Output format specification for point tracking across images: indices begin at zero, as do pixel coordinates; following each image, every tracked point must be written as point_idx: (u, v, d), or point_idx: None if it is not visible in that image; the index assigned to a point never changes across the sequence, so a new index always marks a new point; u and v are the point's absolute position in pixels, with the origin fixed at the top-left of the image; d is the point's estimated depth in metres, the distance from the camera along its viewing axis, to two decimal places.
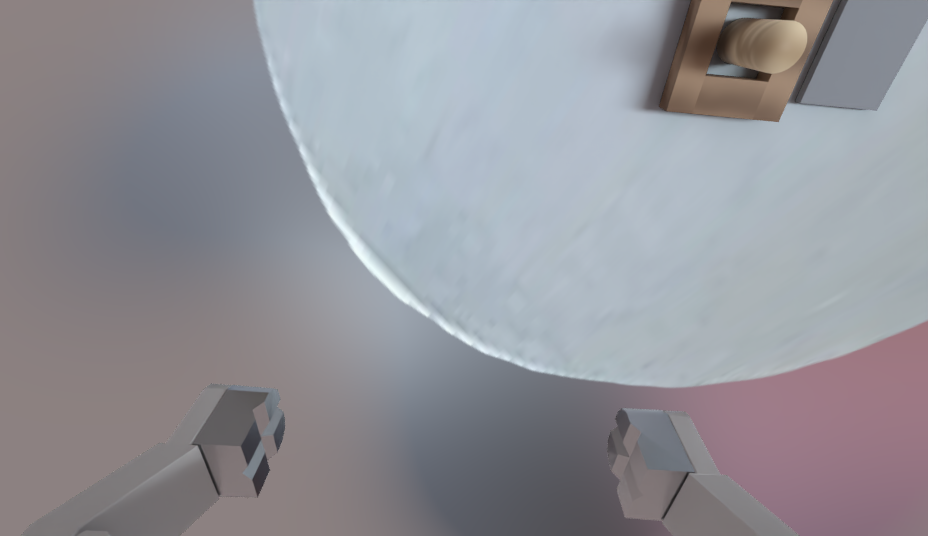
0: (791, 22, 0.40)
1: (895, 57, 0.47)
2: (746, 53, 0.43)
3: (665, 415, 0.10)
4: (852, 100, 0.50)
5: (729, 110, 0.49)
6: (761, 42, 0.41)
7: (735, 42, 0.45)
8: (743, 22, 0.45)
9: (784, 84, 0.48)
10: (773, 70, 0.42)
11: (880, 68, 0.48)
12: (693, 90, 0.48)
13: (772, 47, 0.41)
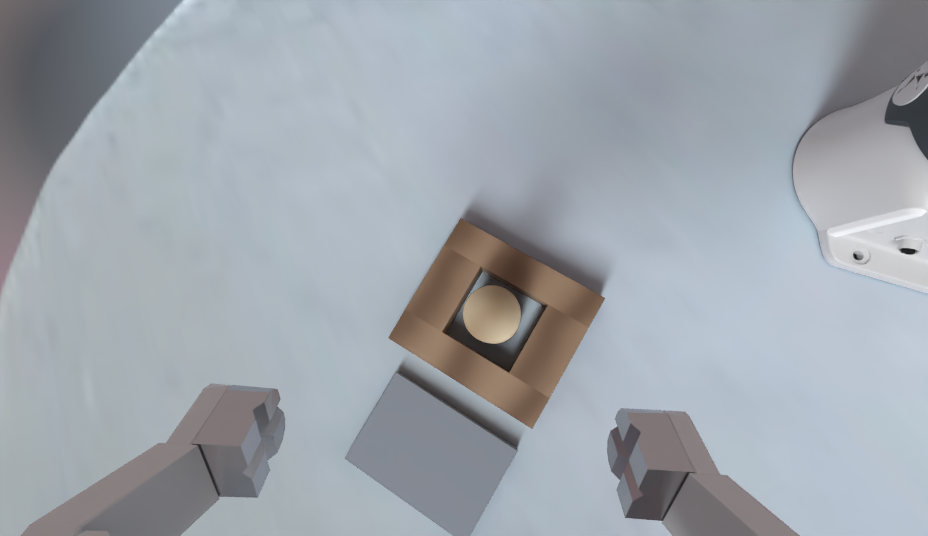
0: (516, 327, 0.33)
1: (400, 481, 0.39)
2: None
3: (665, 415, 0.10)
4: (370, 431, 0.40)
5: (428, 285, 0.40)
6: (508, 293, 0.34)
7: None
8: None
9: (430, 349, 0.39)
10: (469, 302, 0.34)
11: (394, 465, 0.39)
12: (470, 250, 0.41)
13: (496, 304, 0.34)
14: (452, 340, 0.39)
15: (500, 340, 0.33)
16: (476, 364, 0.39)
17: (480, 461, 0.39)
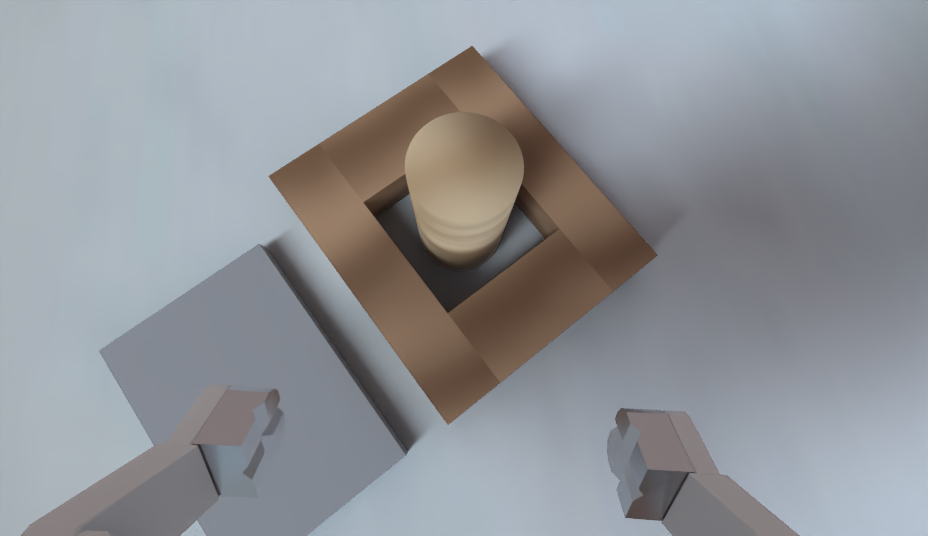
0: (501, 206, 0.16)
1: None
2: None
3: (665, 414, 0.10)
4: (166, 323, 0.22)
5: (375, 123, 0.23)
6: (510, 142, 0.17)
7: None
8: None
9: (331, 221, 0.21)
10: (430, 129, 0.17)
11: (180, 396, 0.21)
12: (466, 97, 0.23)
13: (481, 152, 0.17)
14: (374, 222, 0.21)
15: (460, 218, 0.16)
16: (398, 277, 0.21)
17: (333, 448, 0.20)
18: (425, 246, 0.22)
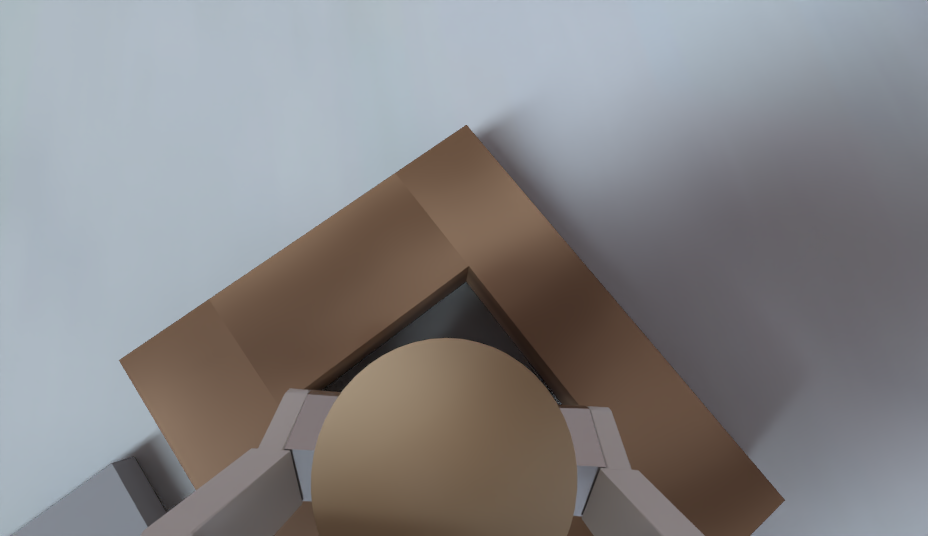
0: None
1: None
2: None
3: (587, 410, 0.10)
4: None
5: (305, 260, 0.14)
6: (546, 410, 0.08)
7: None
8: None
9: (222, 445, 0.12)
10: (370, 383, 0.08)
11: None
12: (457, 214, 0.14)
13: (483, 438, 0.07)
14: None
15: None
16: None
17: None
18: None
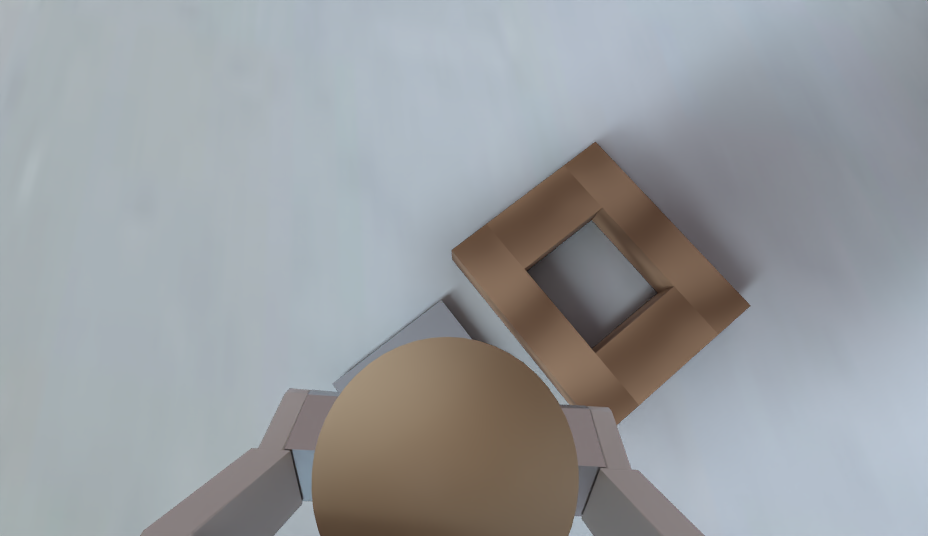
0: None
1: None
2: None
3: (587, 410, 0.10)
4: None
5: (527, 206, 0.30)
6: (547, 409, 0.08)
7: None
8: None
9: (502, 284, 0.29)
10: (371, 382, 0.08)
11: None
12: (594, 184, 0.30)
13: (484, 437, 0.07)
14: (534, 284, 0.29)
15: None
16: (556, 326, 0.28)
17: None
18: None
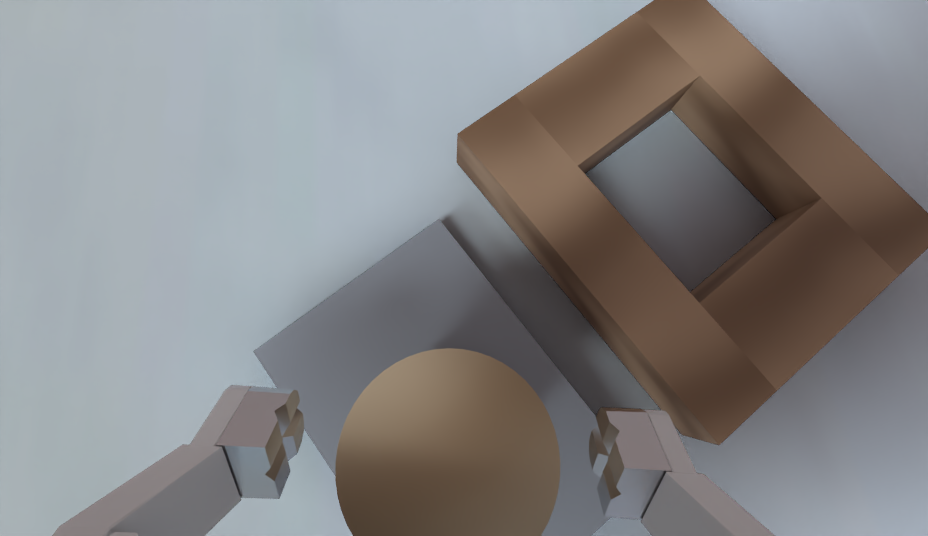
0: None
1: None
2: None
3: (645, 414, 0.10)
4: (334, 316, 0.17)
5: (580, 70, 0.18)
6: (534, 410, 0.09)
7: None
8: None
9: (541, 189, 0.17)
10: (384, 387, 0.09)
11: None
12: (686, 40, 0.19)
13: (481, 434, 0.09)
14: (595, 190, 0.17)
15: None
16: (633, 258, 0.17)
17: None
18: None
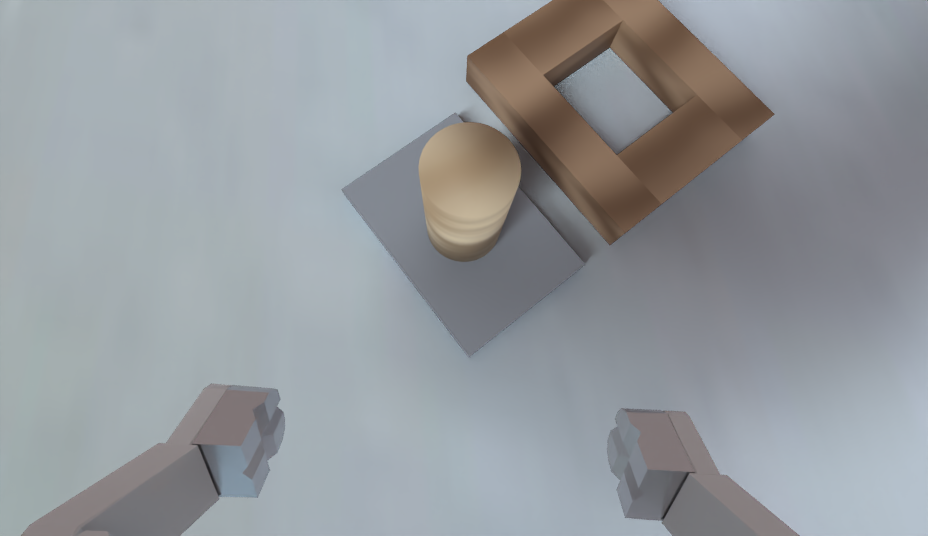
0: (501, 204, 0.19)
1: (408, 245, 0.26)
2: None
3: (665, 415, 0.10)
4: (391, 169, 0.28)
5: (545, 16, 0.29)
6: (509, 148, 0.19)
7: None
8: None
9: (520, 89, 0.27)
10: (440, 137, 0.19)
11: (407, 222, 0.27)
12: None
13: (484, 157, 0.19)
14: (553, 89, 0.27)
15: (466, 214, 0.19)
16: (576, 129, 0.27)
17: (529, 259, 0.26)
18: (432, 239, 0.25)
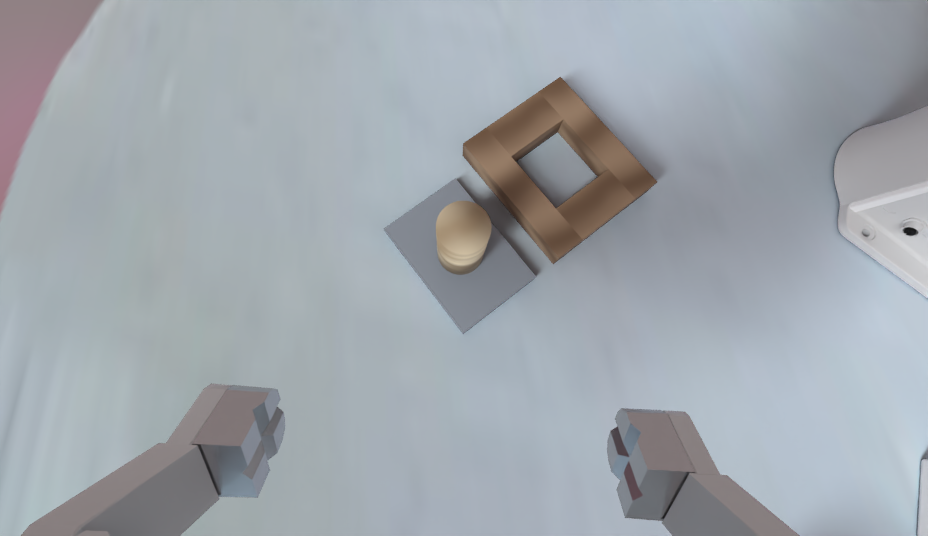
0: (479, 246, 0.35)
1: (425, 264, 0.43)
2: None
3: (665, 415, 0.10)
4: (414, 216, 0.44)
5: (513, 117, 0.45)
6: (485, 216, 0.35)
7: None
8: None
9: (496, 165, 0.43)
10: (447, 209, 0.35)
11: (425, 249, 0.43)
12: (559, 104, 0.45)
13: (472, 220, 0.35)
14: (517, 166, 0.44)
15: (461, 252, 0.35)
16: (531, 192, 0.43)
17: (501, 273, 0.43)
18: (441, 261, 0.41)
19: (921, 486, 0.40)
